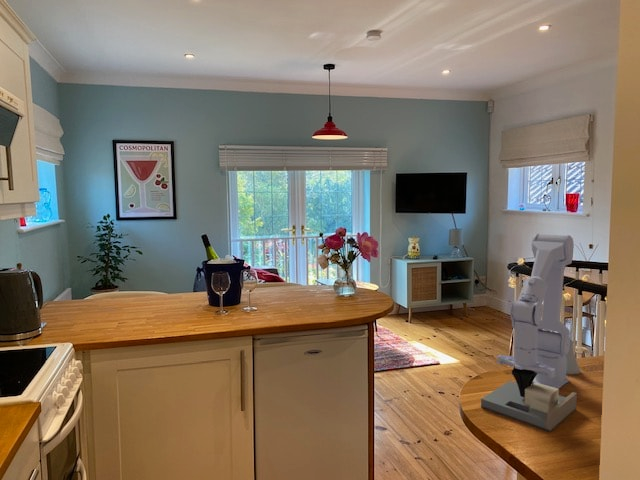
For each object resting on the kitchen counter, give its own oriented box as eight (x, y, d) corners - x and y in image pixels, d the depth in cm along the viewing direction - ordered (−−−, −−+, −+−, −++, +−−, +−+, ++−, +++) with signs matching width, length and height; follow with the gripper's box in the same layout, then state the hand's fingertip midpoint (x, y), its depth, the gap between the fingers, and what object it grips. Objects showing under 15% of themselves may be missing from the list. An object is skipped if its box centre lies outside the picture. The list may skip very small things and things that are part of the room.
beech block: (534, 396, 127) (535, 382, 127) (558, 403, 123) (558, 389, 122) (524, 404, 123) (524, 389, 123) (548, 411, 119) (548, 396, 118)
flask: (583, 376, 145) (584, 344, 144) (557, 374, 147) (558, 343, 146) (576, 367, 152) (577, 336, 151) (552, 365, 154) (552, 335, 153)
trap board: (509, 389, 138) (509, 374, 137) (576, 409, 125) (576, 393, 124) (481, 407, 127) (481, 391, 127) (550, 432, 114) (550, 414, 113)
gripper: (491, 343, 127) (491, 392, 129) (547, 357, 117) (545, 409, 118) (504, 337, 132) (503, 384, 134) (559, 349, 121) (557, 400, 123)
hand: (524, 395), depth 126 cm, fingers closed
